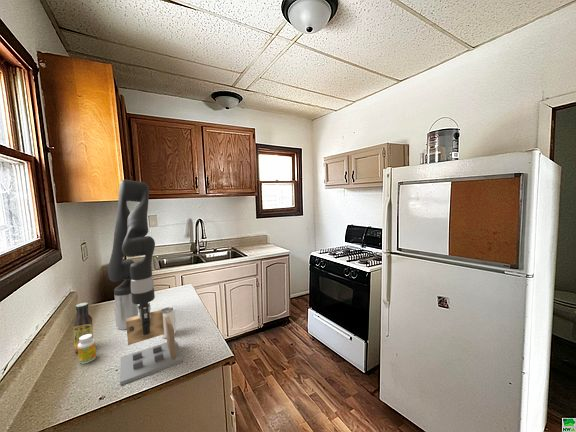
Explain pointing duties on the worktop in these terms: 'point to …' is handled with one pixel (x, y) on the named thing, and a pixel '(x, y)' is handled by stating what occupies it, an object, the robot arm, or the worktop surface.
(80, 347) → the supplement bottle
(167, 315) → the can
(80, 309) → the sauce bottle
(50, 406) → the worktop surface
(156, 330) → the long tan wooden block
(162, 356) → the grey and brown stand
